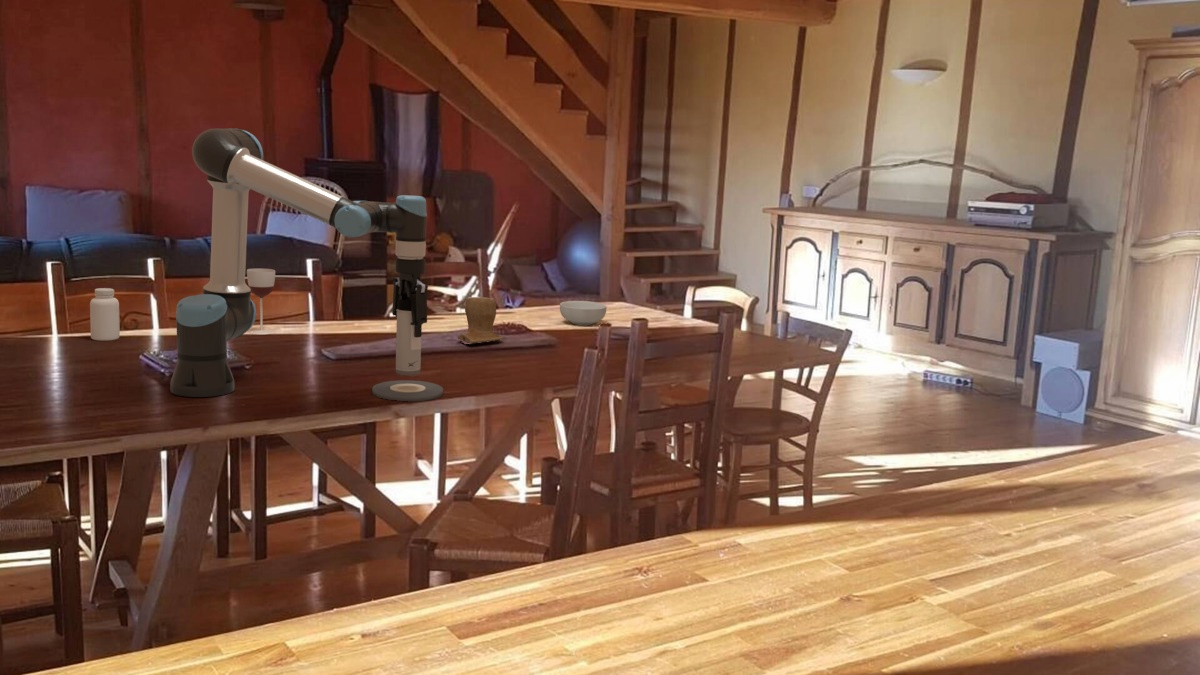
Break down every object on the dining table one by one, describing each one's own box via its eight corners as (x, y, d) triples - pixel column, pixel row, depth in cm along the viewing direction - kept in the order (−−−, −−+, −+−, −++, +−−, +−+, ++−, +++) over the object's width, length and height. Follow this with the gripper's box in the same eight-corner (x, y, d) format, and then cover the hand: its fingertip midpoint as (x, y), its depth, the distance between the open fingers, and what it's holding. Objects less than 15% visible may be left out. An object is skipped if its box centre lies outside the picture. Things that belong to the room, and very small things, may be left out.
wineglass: (271, 335, 345) (270, 272, 342) (243, 333, 345) (243, 271, 342) (278, 330, 353) (278, 269, 349) (251, 329, 353) (251, 267, 349)
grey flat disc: (393, 404, 269) (393, 399, 269) (359, 389, 283) (359, 383, 283) (456, 396, 281) (456, 391, 280) (420, 382, 294) (420, 377, 294)
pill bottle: (125, 338, 328) (124, 289, 326) (101, 342, 322) (99, 292, 319) (109, 335, 333) (108, 286, 330) (85, 338, 326) (83, 288, 323)
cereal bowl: (554, 325, 390) (555, 305, 388) (564, 318, 406) (564, 299, 405) (601, 329, 387) (602, 309, 386) (608, 321, 403) (610, 302, 402)
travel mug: (416, 376, 277) (418, 299, 273) (391, 374, 278) (393, 296, 275) (425, 371, 283) (426, 295, 279) (401, 369, 284) (402, 293, 281)
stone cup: (484, 337, 361) (485, 292, 359) (507, 343, 353) (509, 297, 351) (447, 341, 351) (448, 295, 348) (471, 348, 343) (472, 300, 340)
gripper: (443, 261, 270) (441, 352, 275) (405, 252, 285) (403, 339, 289) (416, 262, 266) (414, 355, 270) (379, 253, 280) (377, 341, 284)
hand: (408, 346), depth 279 cm, fingers closed on travel mug, 6 cm apart
